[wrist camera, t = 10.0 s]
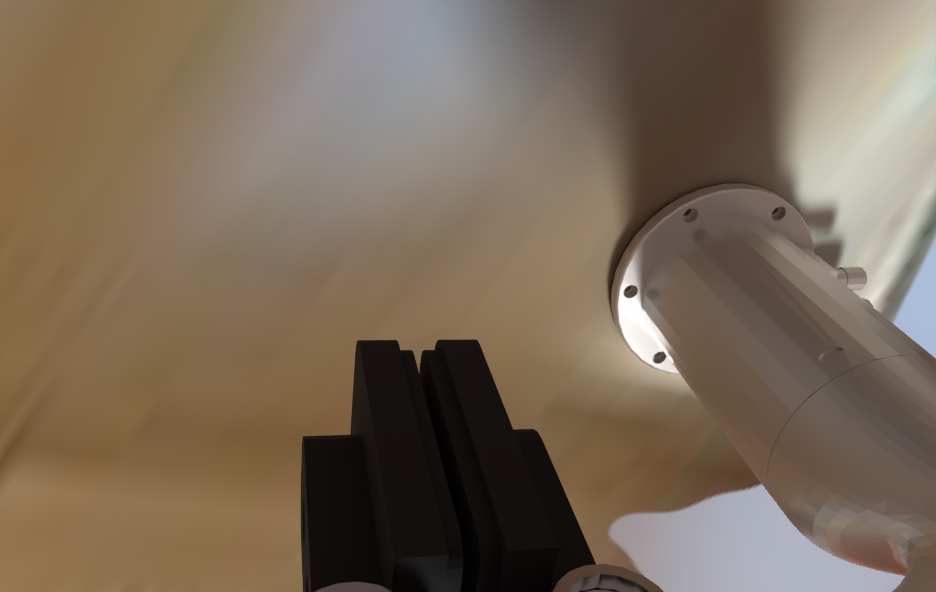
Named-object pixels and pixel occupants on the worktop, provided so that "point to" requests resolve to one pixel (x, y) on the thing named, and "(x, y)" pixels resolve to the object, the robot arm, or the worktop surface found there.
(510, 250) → the worktop surface
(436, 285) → the worktop surface
